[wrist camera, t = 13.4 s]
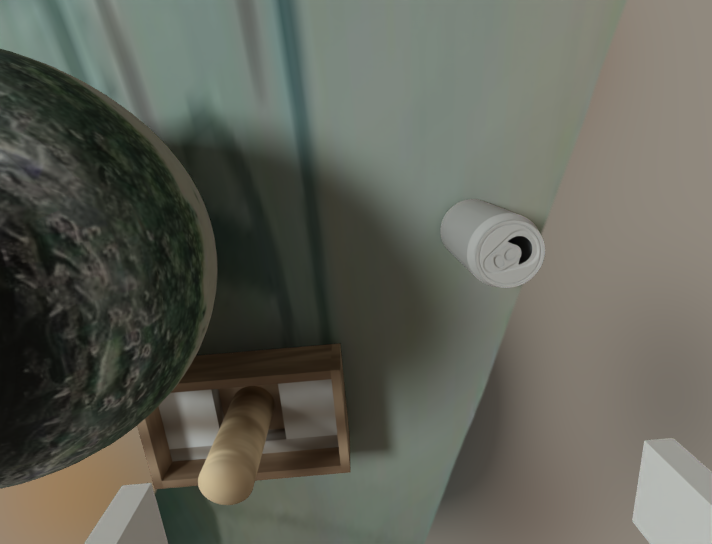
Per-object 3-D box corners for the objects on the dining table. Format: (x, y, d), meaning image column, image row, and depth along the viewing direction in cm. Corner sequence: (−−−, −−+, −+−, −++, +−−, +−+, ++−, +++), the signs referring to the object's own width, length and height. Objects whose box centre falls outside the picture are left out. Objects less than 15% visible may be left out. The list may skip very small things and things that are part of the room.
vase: (305, 192, 43) (229, 281, 14) (179, 390, 49) (-53, 731, 20) (43, 16, 37) (-940, -419, 9) (-61, 263, 44) (-833, 482, 15)
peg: (236, 423, 49) (203, 507, 38) (228, 387, 48) (193, 463, 36) (277, 420, 49) (257, 502, 38) (271, 384, 48) (248, 458, 36)
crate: (152, 359, 48) (126, 388, 42) (340, 343, 48) (340, 369, 42) (175, 451, 51) (154, 489, 46) (349, 436, 52) (350, 472, 46)
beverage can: (506, 237, 45) (562, 268, 33) (454, 266, 46) (491, 305, 34) (482, 186, 43) (532, 200, 32) (428, 217, 44) (458, 241, 32)
